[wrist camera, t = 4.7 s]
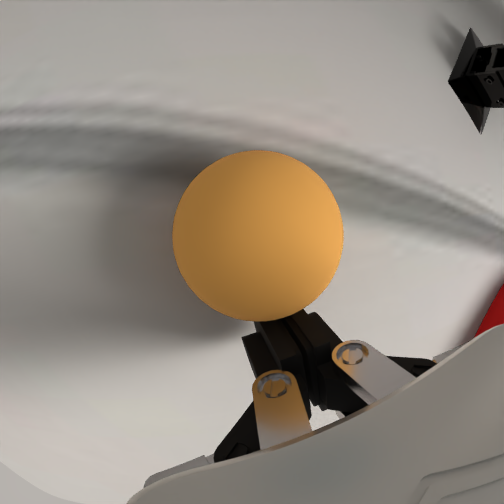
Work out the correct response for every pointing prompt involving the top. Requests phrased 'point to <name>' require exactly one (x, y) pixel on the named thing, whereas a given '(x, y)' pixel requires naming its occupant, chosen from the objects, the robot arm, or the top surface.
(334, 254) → the ball
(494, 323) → the toy clock
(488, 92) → the black boxy piece
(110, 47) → the top surface
